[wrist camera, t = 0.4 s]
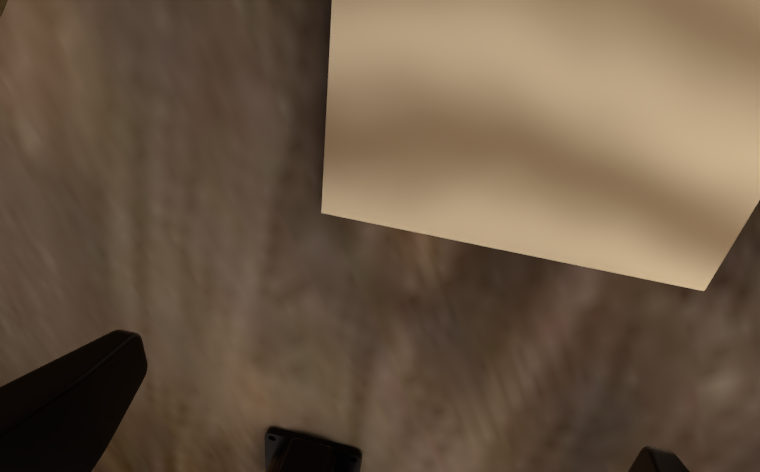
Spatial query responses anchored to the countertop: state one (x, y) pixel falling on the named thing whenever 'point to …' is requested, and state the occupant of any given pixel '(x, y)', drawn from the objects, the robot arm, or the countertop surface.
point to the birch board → (550, 127)
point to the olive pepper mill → (2, 5)
